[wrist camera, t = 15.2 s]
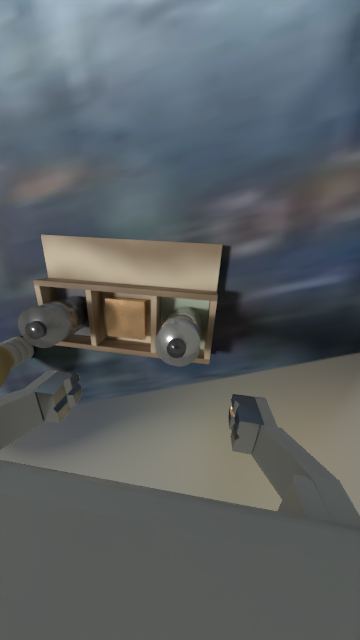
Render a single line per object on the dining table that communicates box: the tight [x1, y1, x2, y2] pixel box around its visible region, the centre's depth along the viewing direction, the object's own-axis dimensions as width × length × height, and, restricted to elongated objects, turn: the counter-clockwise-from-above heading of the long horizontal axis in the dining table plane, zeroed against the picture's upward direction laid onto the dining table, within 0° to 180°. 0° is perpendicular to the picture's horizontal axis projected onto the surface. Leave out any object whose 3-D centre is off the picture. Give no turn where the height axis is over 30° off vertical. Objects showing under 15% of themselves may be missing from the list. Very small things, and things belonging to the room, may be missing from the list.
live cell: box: [155, 306, 202, 366], centre depth 18 cm, size 4×4×7 cm
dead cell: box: [18, 296, 89, 348], centre depth 20 cm, size 4×4×7 cm
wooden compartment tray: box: [33, 235, 222, 364], centre depth 21 cm, size 13×20×3 cm, turn 87°
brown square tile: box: [105, 297, 147, 340], centre depth 22 cm, size 5×5×1 cm
